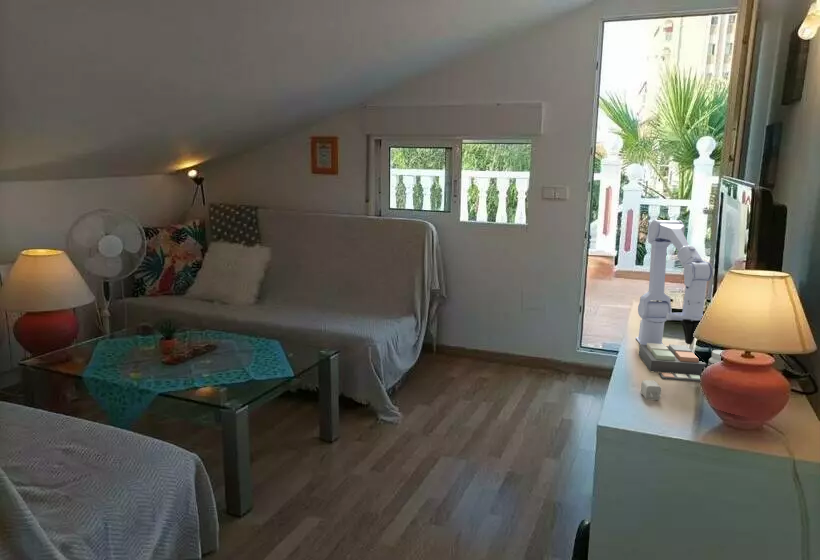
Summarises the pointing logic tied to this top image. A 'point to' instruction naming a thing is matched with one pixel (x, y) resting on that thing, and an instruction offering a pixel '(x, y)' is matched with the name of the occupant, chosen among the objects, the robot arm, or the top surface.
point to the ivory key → (656, 347)
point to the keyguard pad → (669, 363)
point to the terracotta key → (686, 356)
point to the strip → (680, 377)
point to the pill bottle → (715, 357)
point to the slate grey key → (679, 348)
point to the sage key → (663, 355)
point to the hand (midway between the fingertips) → (688, 343)
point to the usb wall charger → (650, 390)
